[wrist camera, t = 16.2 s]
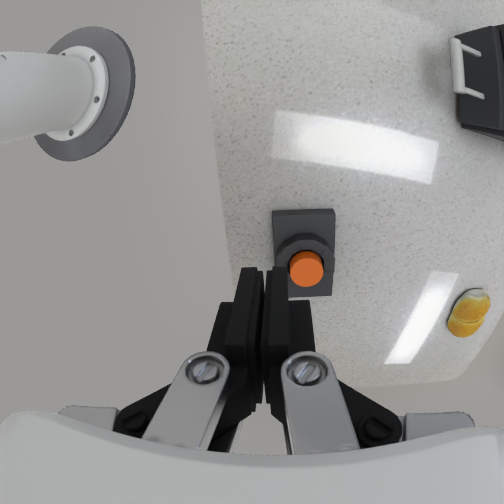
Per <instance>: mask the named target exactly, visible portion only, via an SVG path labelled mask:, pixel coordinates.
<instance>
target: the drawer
mask: <svg viewBox="0 0 504 504" xmlns="http://www.w3.org/2000/svg"><path fill="white" fill-rule="evenodd" d="M454 37H455V38H449V47H450V56H451V68H452V87H453V92H456V93H459V122H461V123H464V124H469V125H475V126H480V127H486V128H491V129H495V130H500V131H504V53H503V46H502V42H501V39H500V34H499V30H498V29H496V28H495V27H493V26H488V27H484V28H481V29H477V30H473V31H470V32H466V33H463V34H460V35H457V36H454Z"/></svg>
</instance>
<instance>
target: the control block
mask: <svg viewBox="0 0 504 504" xmlns="http://www.w3.org/2000/svg"><path fill="white" fill-rule="evenodd" d="M272 223H273V238H274V253H275V266H287V273H288V298H290V297H314V296H331V295H332V283H333V273H334V265H335V258H334V247H335V212H334V210H333V209H307V210H282V211H272ZM302 251H311V252H313V253H315V254H317V255H318V256H319V258H320V259H321V262H322V266H323V276H322V278H321V280H320V281H319V282H318V283H317V284H315V285H313V286H309V287H302V286H299V285H297V284H296V283H294V282H293V280H292V279H291V276H290V262H291V259H292V258H293V257H294V256H295V255H296V254H297V253H299V252H302Z"/></svg>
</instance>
